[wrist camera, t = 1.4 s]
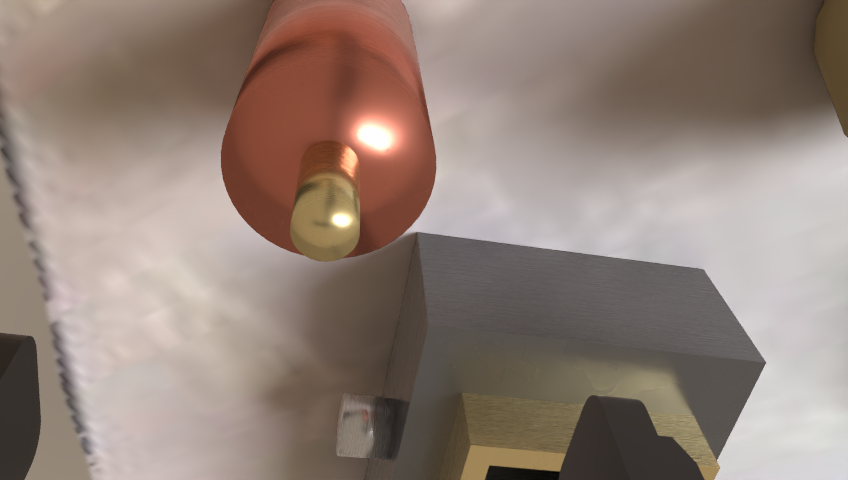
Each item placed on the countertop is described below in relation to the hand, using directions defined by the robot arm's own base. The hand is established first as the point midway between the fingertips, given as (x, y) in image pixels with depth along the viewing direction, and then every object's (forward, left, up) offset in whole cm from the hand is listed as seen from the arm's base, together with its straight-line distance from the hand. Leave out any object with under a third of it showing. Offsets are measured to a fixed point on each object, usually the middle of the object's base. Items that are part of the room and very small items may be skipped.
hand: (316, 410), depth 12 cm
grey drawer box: (+14, +10, -18) cm, 25 cm away
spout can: (0, 0, -18) cm, 18 cm away
